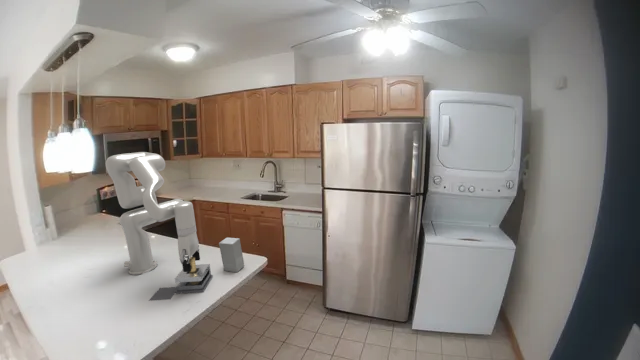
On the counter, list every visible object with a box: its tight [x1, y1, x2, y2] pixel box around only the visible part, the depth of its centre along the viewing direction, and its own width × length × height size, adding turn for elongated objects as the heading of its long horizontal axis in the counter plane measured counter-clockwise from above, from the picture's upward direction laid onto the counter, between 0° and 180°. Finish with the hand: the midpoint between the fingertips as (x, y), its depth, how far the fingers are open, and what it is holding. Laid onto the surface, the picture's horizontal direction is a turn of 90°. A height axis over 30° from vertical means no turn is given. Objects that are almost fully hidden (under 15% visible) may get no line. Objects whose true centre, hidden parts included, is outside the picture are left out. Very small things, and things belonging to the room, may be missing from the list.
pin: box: [189, 256, 197, 282], centre depth 121 cm, size 3×3×12 cm
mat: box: [148, 286, 177, 302], centre depth 118 cm, size 9×9×1 cm
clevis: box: [174, 263, 214, 295], centre depth 122 cm, size 12×12×8 cm
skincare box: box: [218, 236, 245, 273], centre depth 135 cm, size 8×7×16 cm
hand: (192, 265), depth 121 cm, fingers open, 9 cm apart
